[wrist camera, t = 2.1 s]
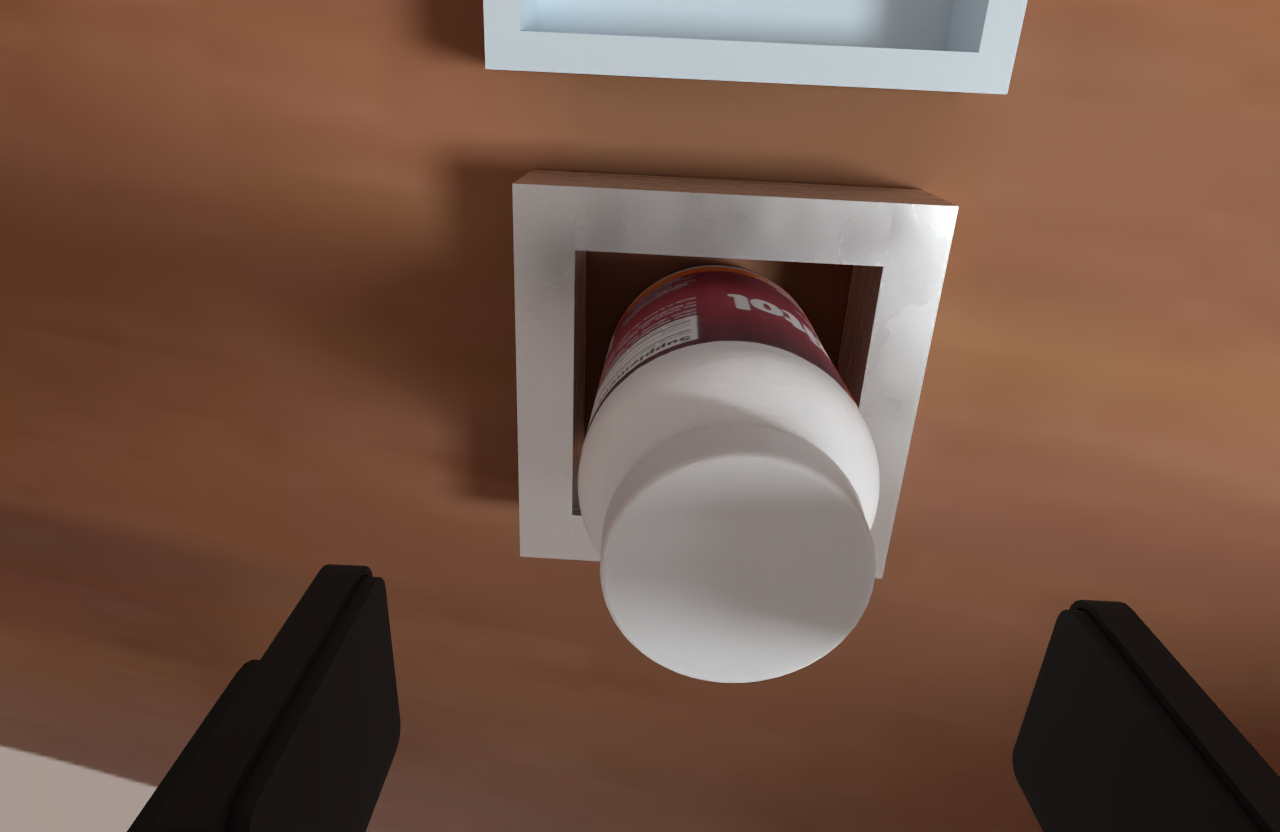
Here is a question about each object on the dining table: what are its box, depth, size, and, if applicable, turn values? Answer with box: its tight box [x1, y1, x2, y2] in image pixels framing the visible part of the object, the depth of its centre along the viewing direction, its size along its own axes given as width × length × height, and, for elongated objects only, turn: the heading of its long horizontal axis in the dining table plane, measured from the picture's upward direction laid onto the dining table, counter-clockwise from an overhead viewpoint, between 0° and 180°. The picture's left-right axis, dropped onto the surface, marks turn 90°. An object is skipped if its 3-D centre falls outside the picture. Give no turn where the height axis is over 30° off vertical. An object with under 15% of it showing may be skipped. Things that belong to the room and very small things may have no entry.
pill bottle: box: [578, 265, 880, 683], centre depth 18 cm, size 6×6×11 cm
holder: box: [512, 169, 959, 578], centre depth 22 cm, size 10×10×3 cm
